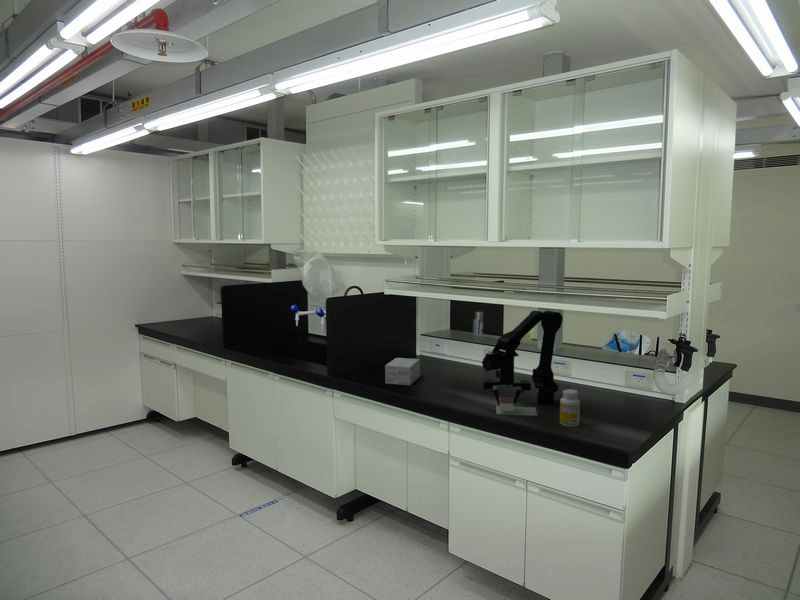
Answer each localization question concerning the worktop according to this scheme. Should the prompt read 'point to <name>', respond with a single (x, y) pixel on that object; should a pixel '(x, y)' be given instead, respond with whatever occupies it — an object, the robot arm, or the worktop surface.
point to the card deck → (506, 404)
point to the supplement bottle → (570, 408)
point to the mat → (518, 411)
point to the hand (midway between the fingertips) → (506, 405)
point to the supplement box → (402, 371)
